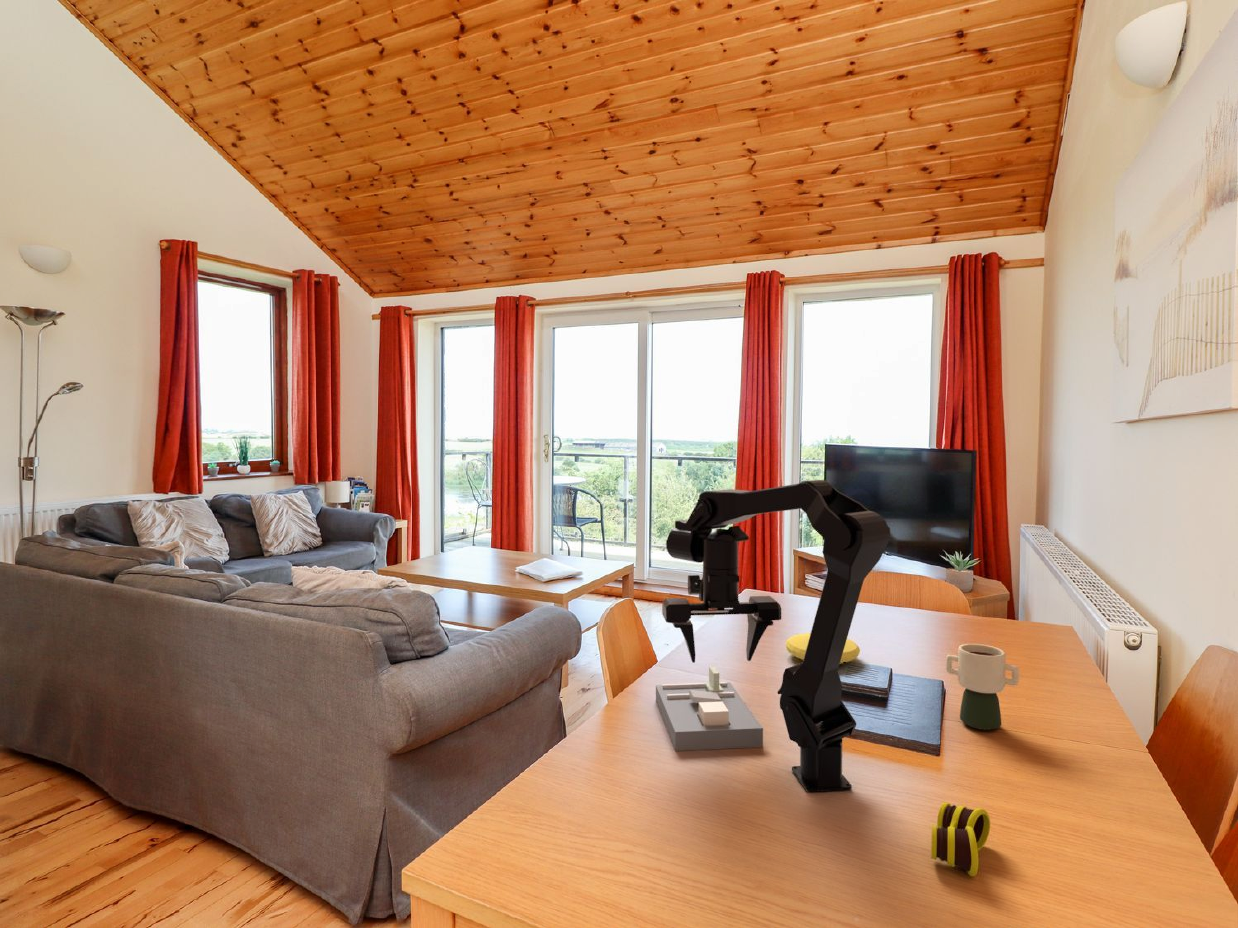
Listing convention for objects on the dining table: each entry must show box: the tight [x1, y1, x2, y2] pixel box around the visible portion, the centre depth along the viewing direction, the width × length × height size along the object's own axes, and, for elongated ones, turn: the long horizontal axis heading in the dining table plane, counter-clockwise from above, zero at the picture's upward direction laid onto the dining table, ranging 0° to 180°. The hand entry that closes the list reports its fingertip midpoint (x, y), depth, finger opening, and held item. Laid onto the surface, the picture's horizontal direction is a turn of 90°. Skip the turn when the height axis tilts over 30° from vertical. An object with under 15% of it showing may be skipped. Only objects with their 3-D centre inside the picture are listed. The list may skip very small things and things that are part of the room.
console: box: [655, 681, 764, 752], centre depth 116 cm, size 20×14×4 cm
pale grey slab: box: [689, 690, 721, 703], centre depth 117 cm, size 3×5×1 cm
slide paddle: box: [704, 665, 723, 692], centre depth 122 cm, size 4×2×4 cm, turn 6°
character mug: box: [945, 643, 1020, 730], centre depth 115 cm, size 11×7×13 cm, turn 54°
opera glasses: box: [930, 801, 991, 877], centre depth 79 cm, size 10×5×5 cm, turn 144°
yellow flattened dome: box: [785, 632, 861, 665], centre depth 149 cm, size 16×16×7 cm
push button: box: [699, 702, 729, 726], centre depth 110 cm, size 4×4×3 cm
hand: (721, 660), depth 112 cm, fingers open, 9 cm apart
